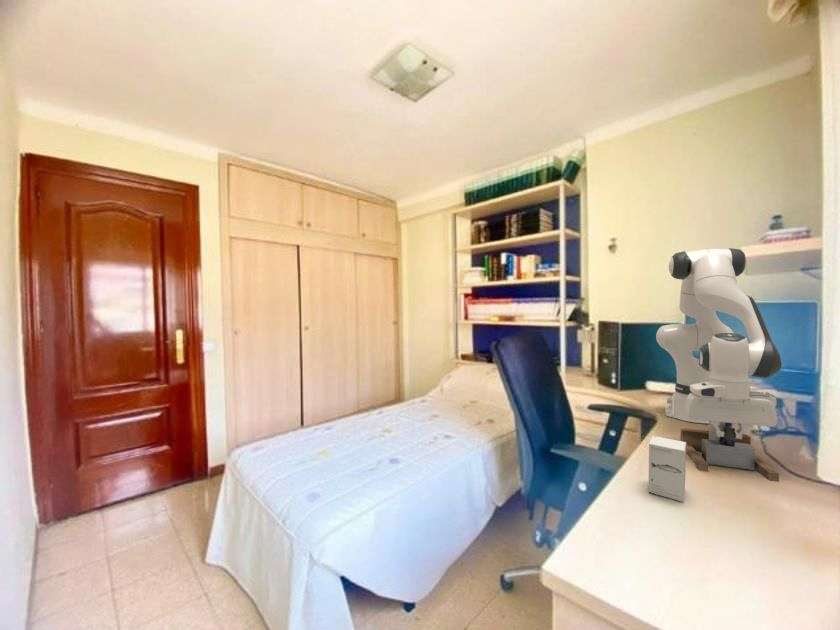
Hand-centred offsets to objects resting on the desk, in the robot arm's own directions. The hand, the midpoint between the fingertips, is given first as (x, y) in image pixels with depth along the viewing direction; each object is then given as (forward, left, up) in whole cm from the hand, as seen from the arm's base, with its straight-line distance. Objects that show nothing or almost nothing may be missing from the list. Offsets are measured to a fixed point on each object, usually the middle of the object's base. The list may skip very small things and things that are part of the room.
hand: (728, 437), depth 101 cm
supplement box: (+23, -20, -9) cm, 32 cm away
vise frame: (-3, 0, -8) cm, 9 cm away
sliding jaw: (-1, 0, -9) cm, 9 cm away
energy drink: (-6, 0, -9) cm, 11 cm away
